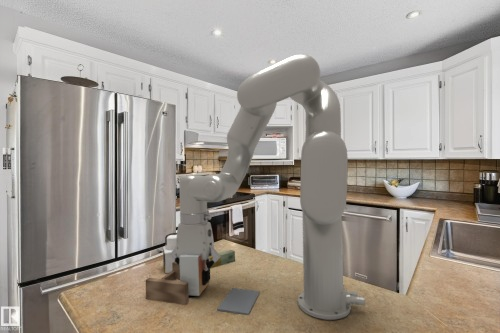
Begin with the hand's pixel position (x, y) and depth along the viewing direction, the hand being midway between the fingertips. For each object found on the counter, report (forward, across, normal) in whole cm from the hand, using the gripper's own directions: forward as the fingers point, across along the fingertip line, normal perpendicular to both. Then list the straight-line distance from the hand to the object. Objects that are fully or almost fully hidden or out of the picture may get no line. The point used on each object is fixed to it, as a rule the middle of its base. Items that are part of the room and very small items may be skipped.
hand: (195, 281), depth 71 cm
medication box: (+3, +1, -20) cm, 20 cm away
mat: (+3, -14, +2) cm, 14 cm away
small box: (+2, 0, 0) cm, 2 cm away
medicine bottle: (+3, +15, -13) cm, 20 cm away
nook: (+3, +5, 0) cm, 6 cm away
